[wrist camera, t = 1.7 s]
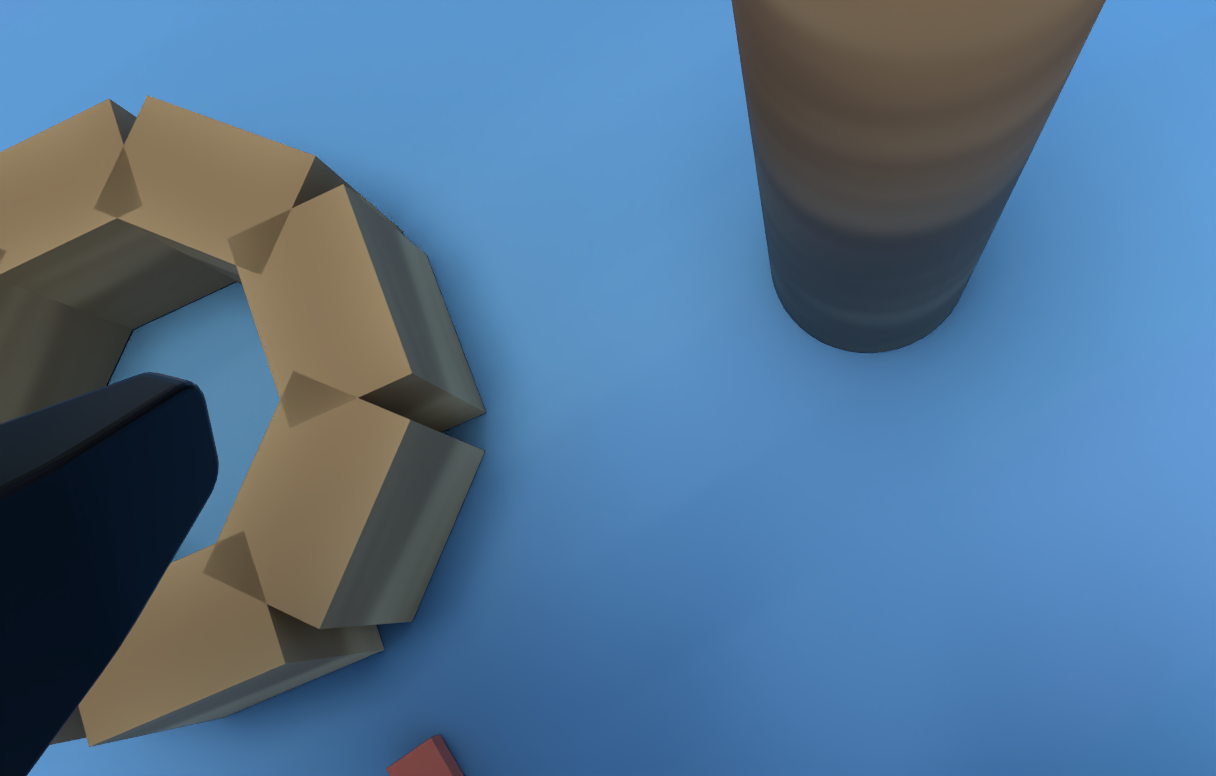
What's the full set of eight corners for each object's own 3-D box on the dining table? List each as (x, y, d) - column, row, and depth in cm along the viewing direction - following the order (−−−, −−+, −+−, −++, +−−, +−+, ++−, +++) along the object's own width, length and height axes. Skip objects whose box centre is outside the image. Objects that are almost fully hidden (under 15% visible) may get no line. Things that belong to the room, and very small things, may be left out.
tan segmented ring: (549, 580, 20) (486, 578, 17) (68, 782, 21) (-97, 825, 18) (372, 110, 23) (281, 13, 19) (-53, 313, 24) (-220, 260, 20)
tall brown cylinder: (1003, 304, 20) (1573, -567, 5) (817, 384, 20) (821, -200, 5) (916, 135, 21) (1177, -1046, 6) (740, 215, 21) (552, -701, 6)
